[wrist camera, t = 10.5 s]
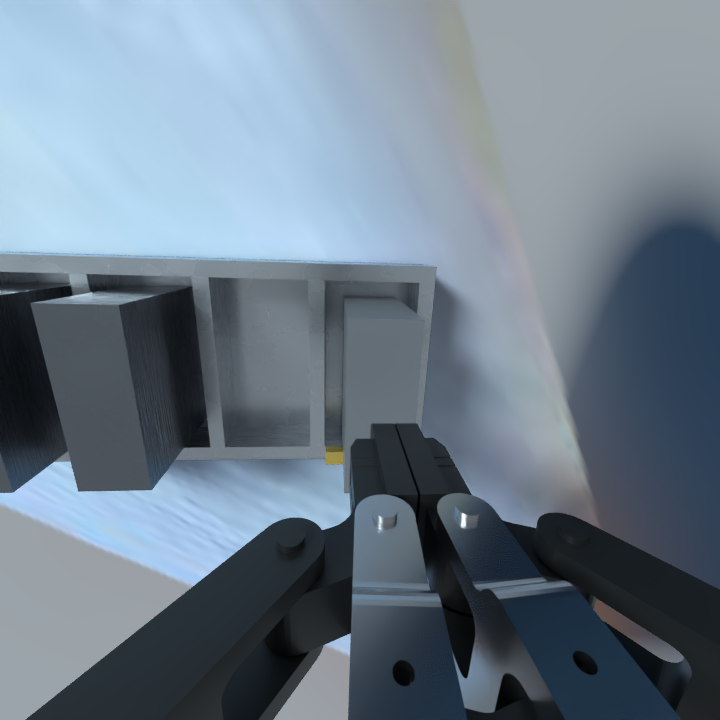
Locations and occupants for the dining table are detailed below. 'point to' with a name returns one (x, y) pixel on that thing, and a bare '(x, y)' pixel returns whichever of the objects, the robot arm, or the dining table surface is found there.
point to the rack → (178, 360)
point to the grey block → (378, 367)
